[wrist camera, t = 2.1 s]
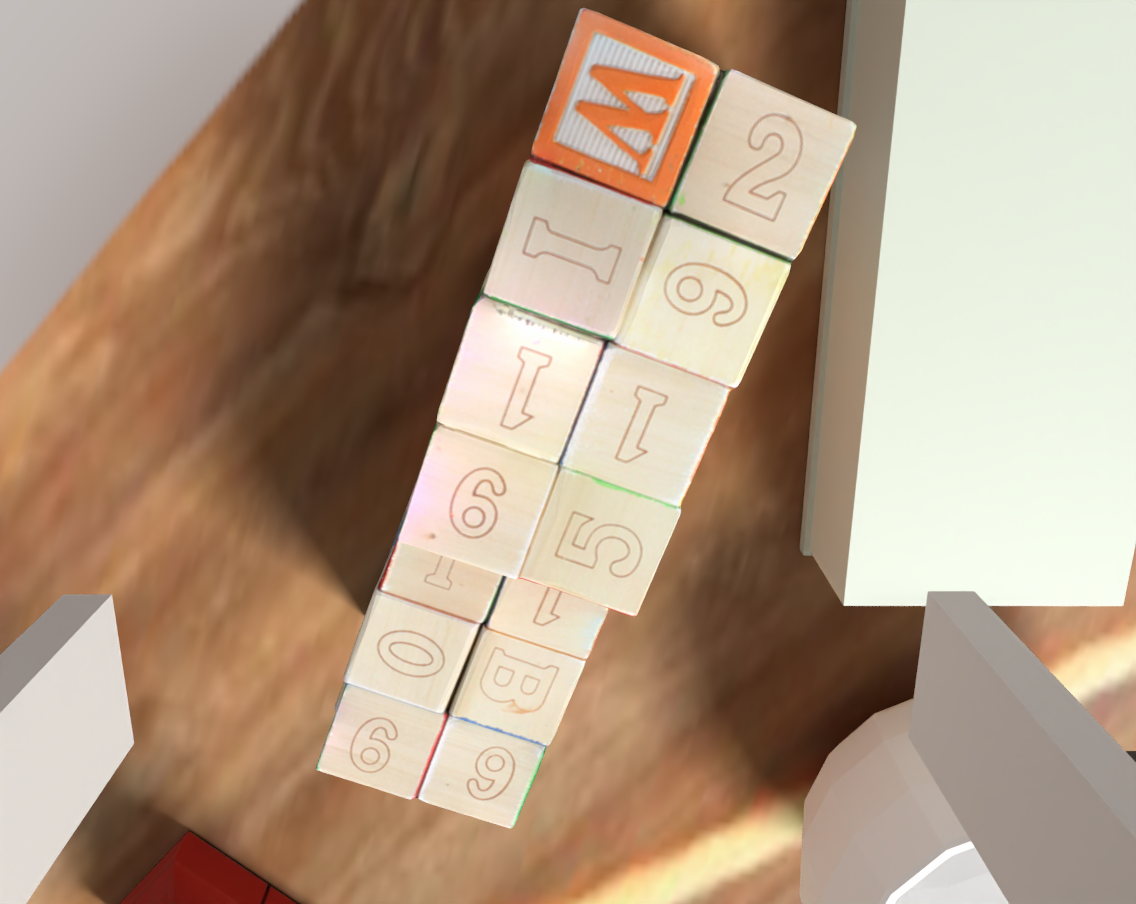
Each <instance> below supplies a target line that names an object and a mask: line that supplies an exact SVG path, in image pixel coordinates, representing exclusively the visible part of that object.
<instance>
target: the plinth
mask: <svg viewBox="0 0 1136 904" xmlns="http://www.w3.org/2000/svg"><path fill="white" fill-rule="evenodd" d="M837 115H838V116H841V117H843V118H845V119H848V120H850V121H852V122H854V123H855V124H856V126H857V127H856V131H855V134H854V138H853V140H852V142H851V145H850V147H849V149H848V151H847V153H846V155H845V158H844V160H843V162H842V164H841V166H840V169H839V171H838V173H837V175H836V177H835V179H834V182H833V184H832V186H831V190H830V202H829V213H828V225H827V237H826V248H825V260H824V271H823V283H822V294H821V306H820V318H819V329H818V341H817V352H816V364H815V375H814V387H813V399H812V410H811V422H810V433H809V445H808V456H807V468H806V479H805V491H804V503H803V514H802V526H801V537H800V551H801V552H802V554H803V555H813V557H814V559H815V560H816V562H817V564H818V565H819V567H820V568H821V570H822V572H823V573H824V575H825V577H826V578H827V580H828V581H829V583H830V585H831V586H832V588H833V590H834V591H835V593H836V594H837V596H838V598H839V599H840V601H841V603H842V604H843V606H926V601H927V593H928V591H975V592H976V593H977V595H978V596H979V597H980V598H981V599H982V600H983V601H984V602H985V603H986V604H987V605H988V606H1123V604H1124V599H1125V594H1126V589H1127V584H1128V579H1129V574H1130V569H1131V564H1132V559H1133V554H1134V549H1135V544H1136V0H847V5H846V17H845V28H844V40H843V52H842V63H841V75H840V86H839V98H838V109H837Z"/></svg>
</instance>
